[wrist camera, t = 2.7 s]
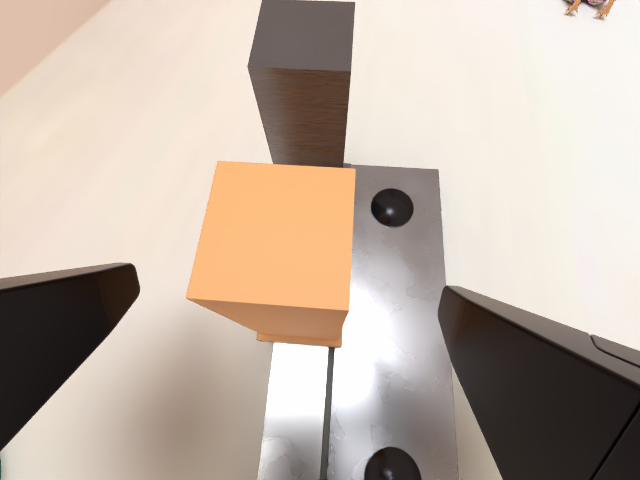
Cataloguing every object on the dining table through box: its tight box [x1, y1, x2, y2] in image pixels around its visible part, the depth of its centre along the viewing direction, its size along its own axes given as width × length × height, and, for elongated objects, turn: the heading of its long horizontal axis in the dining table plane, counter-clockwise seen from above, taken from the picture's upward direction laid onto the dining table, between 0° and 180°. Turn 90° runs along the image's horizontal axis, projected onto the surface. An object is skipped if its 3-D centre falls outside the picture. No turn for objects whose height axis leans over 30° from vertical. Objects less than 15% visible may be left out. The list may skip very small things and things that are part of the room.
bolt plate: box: [327, 165, 458, 480], centre depth 17 cm, size 22×6×1 cm, turn 175°
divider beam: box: [248, 0, 355, 480], centre depth 13 cm, size 22×4×12 cm, turn 175°
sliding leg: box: [186, 161, 356, 348], centre depth 12 cm, size 4×4×10 cm
